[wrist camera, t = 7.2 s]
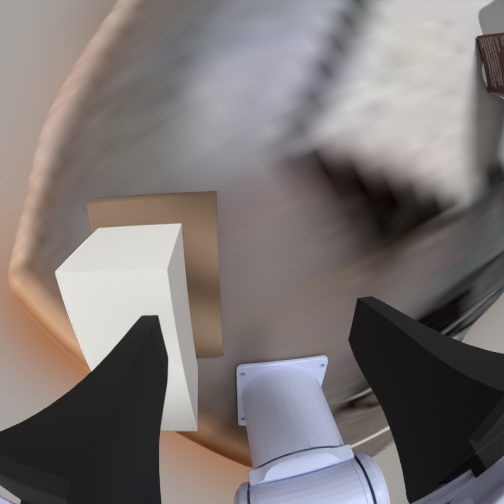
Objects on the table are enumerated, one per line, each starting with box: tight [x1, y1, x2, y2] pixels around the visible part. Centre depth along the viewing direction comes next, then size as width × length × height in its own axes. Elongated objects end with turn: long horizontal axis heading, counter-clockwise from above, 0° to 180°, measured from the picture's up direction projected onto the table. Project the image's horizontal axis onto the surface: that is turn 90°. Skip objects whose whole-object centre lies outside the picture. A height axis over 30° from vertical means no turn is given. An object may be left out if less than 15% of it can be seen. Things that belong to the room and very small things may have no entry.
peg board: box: [87, 191, 223, 357], centre depth 17 cm, size 12×8×4 cm, turn 179°
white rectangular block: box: [55, 223, 198, 431], centre depth 13 cm, size 10×4×5 cm, turn 179°
